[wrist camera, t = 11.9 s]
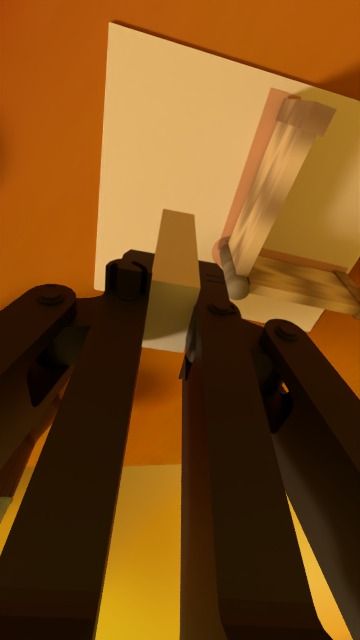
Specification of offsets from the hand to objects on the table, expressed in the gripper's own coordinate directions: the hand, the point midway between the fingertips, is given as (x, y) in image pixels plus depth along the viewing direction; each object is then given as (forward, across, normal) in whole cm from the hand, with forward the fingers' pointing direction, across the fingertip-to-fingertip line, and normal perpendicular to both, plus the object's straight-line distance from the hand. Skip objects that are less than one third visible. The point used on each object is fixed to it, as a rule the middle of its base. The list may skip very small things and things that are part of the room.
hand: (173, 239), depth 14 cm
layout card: (+22, +8, -6) cm, 24 cm away
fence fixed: (+22, +16, -10) cm, 29 cm away
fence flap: (+21, +9, -1) cm, 23 cm away
